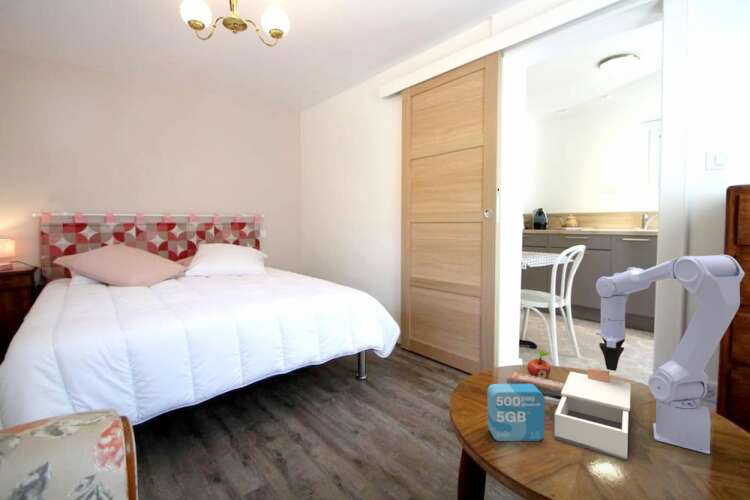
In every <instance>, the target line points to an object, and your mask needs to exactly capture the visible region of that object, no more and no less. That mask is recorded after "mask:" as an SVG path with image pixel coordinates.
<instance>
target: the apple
mask: <svg viewBox="0 0 750 500" xmlns="http://www.w3.org/2000/svg"><path fill="white" fill-rule="evenodd" d="M548 354H549V352H548V351H546V350H545V349H540V350H539V357H538V358H534V359H532V360H529V362H528V364H527V368H526V369H527V372H528V375H530V376H535V377H539V378H544V379H548V378H549V377H550V374H551V364H550V363H549V362H548V361H546V360H545V359H542V357H544V356H548Z"/></svg>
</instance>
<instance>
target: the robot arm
mask: <svg viewBox="0 0 750 500" xmlns="http://www.w3.org/2000/svg"><path fill="white" fill-rule="evenodd" d="M744 277H745V271H744V270H743V268H742V267H741V265H740V264H739V262H738V261H737V260H736V259H735V258H734V257H732V256H731V255H728V254H716V255H683V256H681V257H677V258H672V259H670V260H667V261H665V262H662V263H659V264H657V265H655V266H651V267H649V268H646V269H643V268H639V267H636V266H632V267H631V266H630V267H627V268H626V271H625V270H624V271H623V272H615V273H614V274H613V275H611V276H603V275H602V276H601V277H599V278H598V279H597V281H596V283H595V288H596V289H595V290H596V292H597V294H598V296H600V331H599V330H596V331H595V335H597V336H600V337H601V339H602V340H603V342H599V345H598V346H599V349H600V351H601V353H602V355H603V358H604V362H605V367H606V371H614V372H616V371H617V368H618V365H619V361H620V358H621V355H622V353H623V352H624V350H625V347H624V346H623V344H624V342H625V341H626V338H627V337H626V334H625V333H626V303H627V302H628V296H629V295H630V294H633V293H636V292H641V291H643V290H647V289H648V288H650V287H651V284H652V283H654V282H655V283H656V282H659V281H662V280H667V279H673V280H676V281H678V282H679V283H680V284H681V285H682V286H683V288H684V289H685V290H686V291H687V292H688V293H689V294H690V295H691V296H692V297H693V298H694V299H695V300H697V301H698V304H699V305H698V307H697V309H696V311H695V312H694V315H693V317H692V319H691V321H690V322H689V324H688V326H687V329H686V330H685V332H684V334H683V336H682V339H681V340H680V343H679V344H678V346H677V348H676V349H675V352H674V354H673V356H672V358H671V359H670V360H669V361H667V362H666V363H664V364H663V365H661V366H659V367H658V369H657V371H656V372H654V373H652V374H650V375H649V377H648V380H647V386H648V389H649V391H650V393H651V395H652V396H653V398H654V400H656V405H655V406H656V408H655V409H656V411H655V416H656V417H655V422H654V423H653V422H652V426H653V437H654V440H656V441H658V442H662V443H666V444H668V445H673V446H677V447H681V448H685V449H687V450H692V451H695V452H700V453H704V454H706V455H710V454H711V438H712V437H711V414H710V413H711V412H710V408H709V407H707V406H705V405H700V399H703V398H704V397H706V395H707V393H708V389H707V388H708V387H707V384H708V382H709V379H710V377H709V375H708V374H707V373H706V372H705V371H704V370H705V368H706V367H707V365H708V363H709V361H710V359H711V358H712V356H713V354H714V352H715V351H716V349H717V347H718V346H719V344H720V342H721V340H722V338H723V337H724V335H725V333H726V332H727V330H728V327H729V326H730V325H731V323H732V321H733V319H734V318H735V315H736V313H738V311H739V308H740V305H741V295H740V293H741V291H740V287H741V286H740V285H741V282H742V280H743V278H744Z"/></svg>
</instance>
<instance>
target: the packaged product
mask: <svg viewBox="0 0 750 500" xmlns="http://www.w3.org/2000/svg"><path fill="white" fill-rule="evenodd" d="M506 384H533V385H534V386H535V387H536V388H537V389H538V390H539V391H540V392H541V393H542V394H543V396H544V403H546V404H550V405H554V406H558V405H559V403H560V400H561V398H562V396H563V395H561V392H562V389H563V387H564V385H565V383H564V382H560V381H557V380H551V379H548V378H547V379H544V378H539V377H535V376H531V375H530V374H525V373H520V372H516V371H512V372H511V374H509V375H508V377H506Z"/></svg>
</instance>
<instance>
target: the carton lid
mask: <svg viewBox="0 0 750 500" xmlns="http://www.w3.org/2000/svg"><path fill="white" fill-rule="evenodd" d="M631 387H632V386H631V383H630V382H626V381H621V380H618V379H617V380H615V379H610V370H603V369H597V368H592V367H587V374H585V373H579V372H574V371H570V372H569V373H568V376H567V378H566V380H565V385H564V387H563V389H562V392H561V395H563V396H567V397H572V398H576V399H580V400H585V401H589V402H593V403H597V404H602V405H606V406H610V407H615V408H619V409H623V410H628V412H630V411H631Z"/></svg>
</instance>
